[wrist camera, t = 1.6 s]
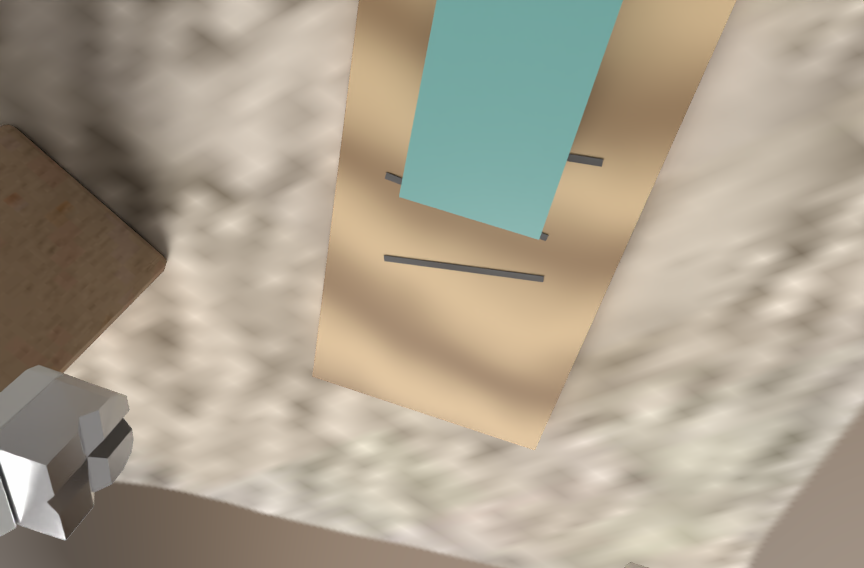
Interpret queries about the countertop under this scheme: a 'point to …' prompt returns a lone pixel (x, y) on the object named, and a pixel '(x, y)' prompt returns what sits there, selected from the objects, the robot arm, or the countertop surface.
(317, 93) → the countertop surface
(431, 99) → the block
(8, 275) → the wooden block
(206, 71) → the countertop surface
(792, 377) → the countertop surface
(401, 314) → the oak board
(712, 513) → the countertop surface
